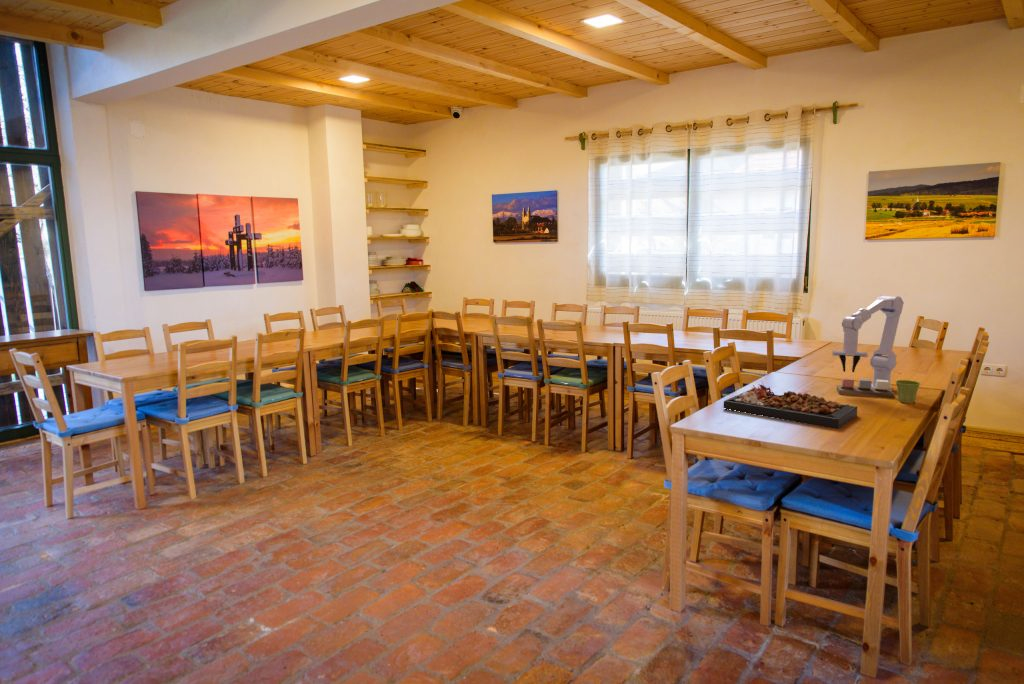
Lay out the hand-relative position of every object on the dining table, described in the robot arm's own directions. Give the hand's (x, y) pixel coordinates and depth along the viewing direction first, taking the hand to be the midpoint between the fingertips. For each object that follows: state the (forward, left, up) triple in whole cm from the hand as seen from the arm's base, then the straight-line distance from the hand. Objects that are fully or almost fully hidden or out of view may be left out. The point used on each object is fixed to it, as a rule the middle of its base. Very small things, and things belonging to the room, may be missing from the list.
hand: (848, 371), depth 295 cm
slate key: (0, +7, -7) cm, 10 cm away
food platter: (+48, -26, -11) cm, 55 cm away
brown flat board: (0, +7, -10) cm, 12 cm away
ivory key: (0, +14, -7) cm, 16 cm away
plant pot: (+11, +22, -10) cm, 27 cm away
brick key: (0, 0, -7) cm, 7 cm away
